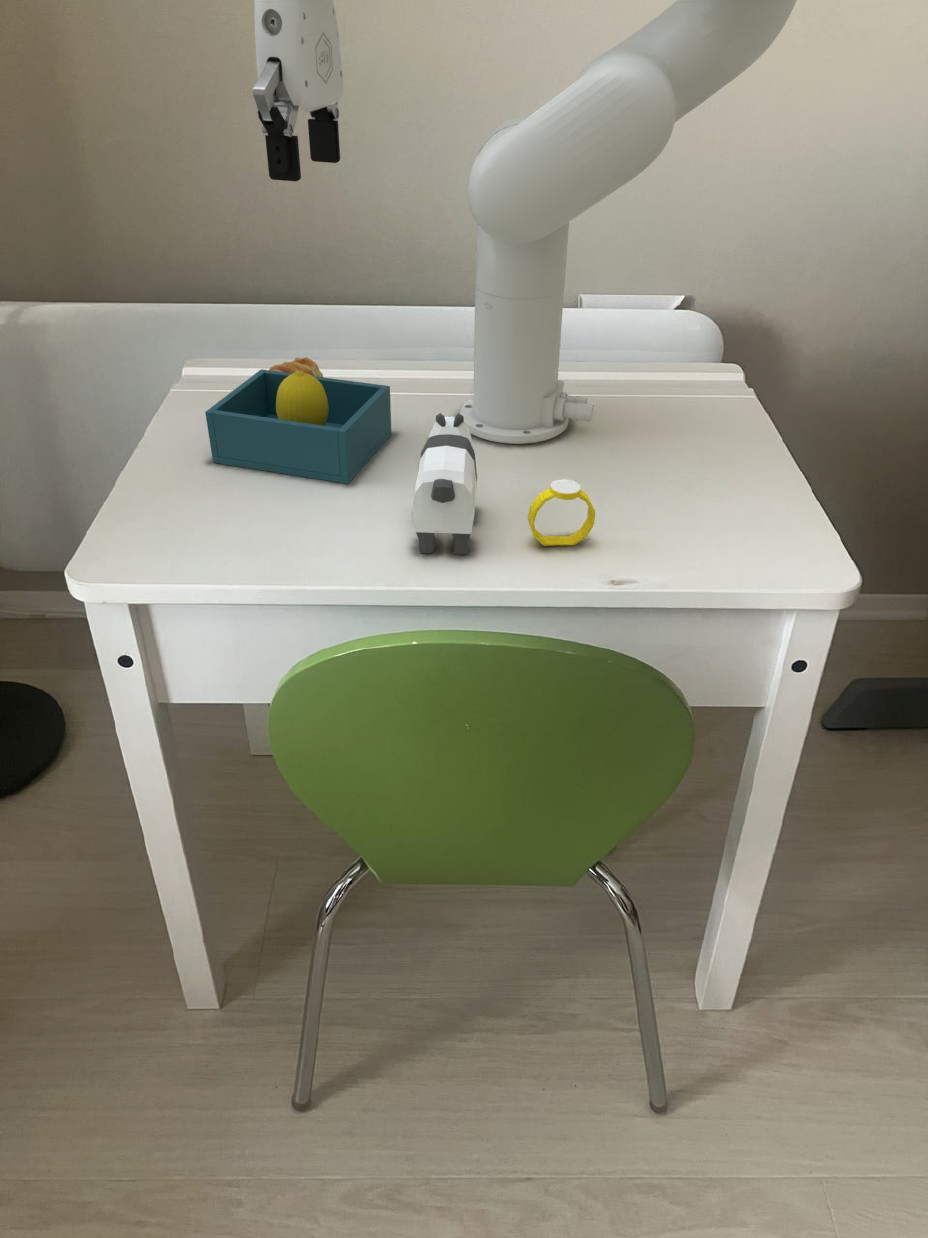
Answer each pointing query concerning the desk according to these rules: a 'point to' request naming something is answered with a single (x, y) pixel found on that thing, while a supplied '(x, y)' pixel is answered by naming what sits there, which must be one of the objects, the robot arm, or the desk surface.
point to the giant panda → (446, 485)
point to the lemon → (302, 399)
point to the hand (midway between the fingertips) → (306, 170)
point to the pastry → (299, 367)
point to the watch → (565, 492)
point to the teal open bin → (300, 429)
